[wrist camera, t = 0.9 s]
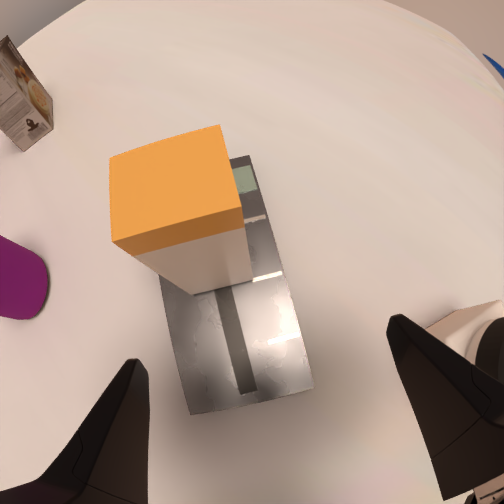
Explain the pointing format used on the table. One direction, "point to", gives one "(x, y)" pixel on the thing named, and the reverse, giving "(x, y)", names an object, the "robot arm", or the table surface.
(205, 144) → the fader knob
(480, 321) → the medicine bottle
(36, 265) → the beverage can
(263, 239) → the board
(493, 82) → the table surface
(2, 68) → the coffee box
